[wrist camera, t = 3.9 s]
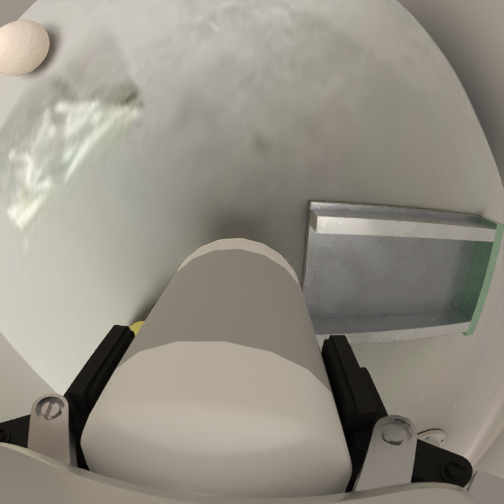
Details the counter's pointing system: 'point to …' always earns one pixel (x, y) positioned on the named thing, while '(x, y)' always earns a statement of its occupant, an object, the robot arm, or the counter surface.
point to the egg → (22, 47)
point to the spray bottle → (223, 387)
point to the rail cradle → (395, 271)
